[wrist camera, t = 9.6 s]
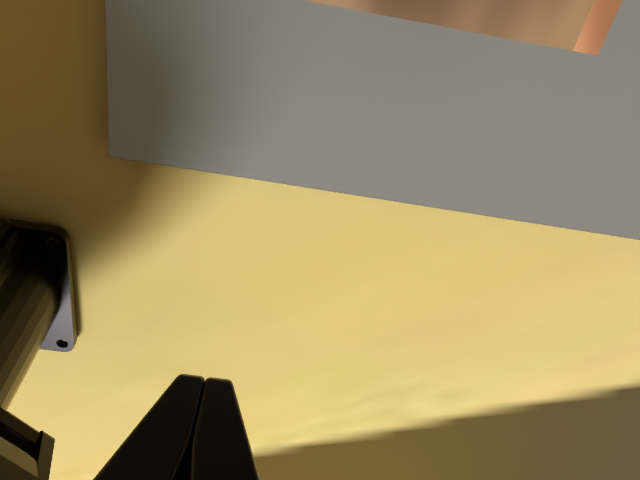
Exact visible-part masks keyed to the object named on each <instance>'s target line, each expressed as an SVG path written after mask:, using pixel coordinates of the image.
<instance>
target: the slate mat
mask: <svg viewBox="0 0 640 480" xmlns="http://www.w3.org/2000/svg"><path fill="white" fill-rule="evenodd" d="M105 14H106V56H107V98H108V140H109V157H115V158H122V159H128V160H134V161H141V162H147V163H153V164H160V165H166V166H173V167H179V168H185V169H192V170H198V171H204V172H211V173H217V174H223V175H230V176H236V177H243V178H249V179H255V180H262V181H268V182H274V183H281V184H287V185H293V186H300V187H306V188H313V189H319V190H325V191H332V192H338V193H344V194H351V195H357V196H363V197H370V198H376V199H383V200H389V201H395V202H402V203H408V204H414V205H421V206H427V207H433V208H440V209H446V210H453V211H459V212H465V213H472V214H478V215H484V216H491V217H497V218H503V219H510V220H516V221H522V222H529V223H535V224H542V225H548V226H554V227H561V228H567V229H573V230H580V231H586V232H592V233H599V234H605V235H612V236H618V237H624V238H631V239H637V240H640V0H622V2H621V4H620V7H619V9H618V11H617V13H616V16H615V18H614V20H613V22H612V25H611V27H610V29H609V31H608V33H607V36H606V38H605V40H604V42H603V45H602V47H601V49H600V51H599V54H598V56H597V55H592V54H587V53H581V52H576V51H571V50H565V49H560V48H555V47H549V46H544V45H539V44H533V43H528V42H523V41H517V40H512V39H507V38H502V37H496V36H491V35H486V34H480V33H475V32H470V31H464V30H459V29H454V28H448V27H443V26H438V25H432V24H427V23H422V22H416V21H411V20H406V19H401V18H395V17H390V16H385V15H379V14H374V13H369V12H363V11H358V10H353V9H347V8H342V7H337V6H331V5H326V4H321V3H315V2H310V1H305V0H105Z"/></svg>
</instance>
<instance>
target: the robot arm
mask: <svg viewBox="0 0 640 480" xmlns="http://www.w3.org/2000/svg"><path fill="white" fill-rule="evenodd" d="M51 237H54V238H56V239H58V240H59V242H56V241H54V240H52V239H51ZM63 340H65V341H63ZM76 341H77V331H76V317H75V303H74V289H73V275H72V261H71V247H70V237H69V234H68V233H67V232H66V230H64V229H63V228H61V227H58V226H53V225H46V224H39V223H32V222H25V221H18V220H11V219H5V218H0V480H49V474H50V467H51V461H52V454H53V448H54V442H55V439H54V438H52V437H51V436H49V435H48V434H46V433H45V432H43V431H40V432H38V431H37V430H35V429H34V428H32V427H31V426H29V425H28V424H26V423H25V422H23V421H22V420H20V419H19V418H17V417H16V416H14V415H13V414H11V413H10V412H8V411H7V409H8V407H9V405H10V403H11V401H12V399H13V397H14V395H15V394H16V392H17V390H18V388H19V386H20V384H21V382H22V380H23V378H24V377H25V375H26V373H27V371H28V369H29V367H30V365H31V363H32V361H33V359H34V358H35V356H36V354H37V352H38V350H39V349H45V350H53V351H61V352H68V351H71V350H72V349H73V348H74V346H75V344H76ZM93 480H260V479H259V476H258V472H257V469H256V465H255V462H254V458H253V454H252V451H251V447H250V444H249V440H248V437H247V433H246V429H245V426H244V422H243V419H242V415H241V412H240V408H239V404H238V401H237V397H236V394H235V390H234V387H233V384H232V382H231V381H230V380H228V379H220V378H212V377H210V378H207V379H206V381H205V379H204V378H203V377H202V376H196V375H188V374H181V375H179V376H178V377H176V379H175V380H174V381H173V382H172V383H171V385H170V386H169V387H168V388H167V390H166V391H165V392H164V393H163V394H162V396H161V397H160V398H159V399H158V401H157V402H156V403H155V404H154V406H153V407H152V408H151V409H150V410H149V412H148V413H147V414H146V415H145V417H144V418H143V419H142V420H141V421H140V423H139V424H138V425H137V426H136V428H135V429H134V430H133V431H132V433H131V434H130V435H129V436H128V437H127V439H126V440H125V441H124V442H123V444H122V445H121V446H120V447H119V448H118V450H117V451H116V452H115V453H114V455H113V456H112V457H111V458H110V460H109V461H108V462H107V463H106V464H105V466H104V467H103V468H102V469H101V471H100V472H99V473H98V474H97V476H96V477H95V478H94V479H93Z"/></svg>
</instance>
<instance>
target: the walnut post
mask: <svg viewBox="0 0 640 480" xmlns="http://www.w3.org/2000/svg"><path fill="white" fill-rule="evenodd" d="M305 1H310V2H315V3H321V4H326V5H331V6H337V7H342V8H347V9H353V10H358V11H363V12H369V13H374V14H379V15H385V16H390V17H395V18H401V19H406V20H411V21H416V22H422V23H427V24H432V25H438V26H443V27H448V28H454V29H459V30H464V31H470V32H475V33H480V34H486V35H491V36H496V37H502V38H507V39H512V40H517V41H523V42H528V43H533V44H539V45H544V46H549V47H555V48H560V49H565V50H571V51H576V52H581V53H587V54H592V55H597V56H598V54H599V51H600V49H601V47H602V45H603V42H604V40H605V38H606V36H607V33H608V31H609V29H610V27H611V25H612V22H613V20H614V18H615V16H616V13H617V11H618V9H619V7H620V4H621V2H622V0H305Z"/></svg>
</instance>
